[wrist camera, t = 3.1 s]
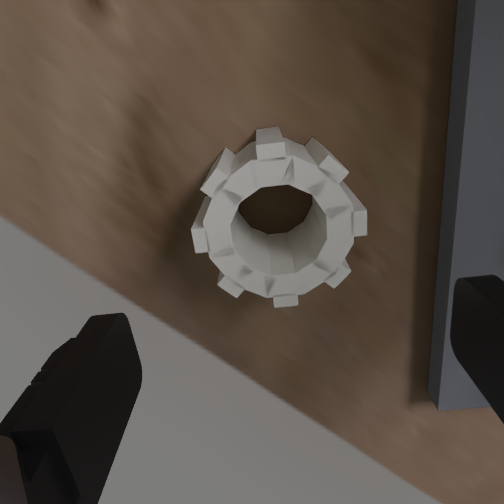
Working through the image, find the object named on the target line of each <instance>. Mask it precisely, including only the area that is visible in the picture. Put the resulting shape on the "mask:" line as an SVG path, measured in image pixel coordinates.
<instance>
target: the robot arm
mask: <svg viewBox="0 0 504 504" xmlns="http://www.w3.org/2000/svg"><path fill="white" fill-rule="evenodd" d="M450 341H451V346H452V349H453V352H454V355H455V357H456V359H457V360H458V362H459V363H460V364H461V366H462V367H463V368H464V370H465V371H466V373H467V374H468V375H469V377H470V378H471V379H472V381H473V382H474V384H475V385H476V386H477V388H478V389H479V390H480V392H481V393H482V395H483V396H484V397H485V399H486V400H487V401H488V403H489V404H490V406H491V407H492V408H493V410H494V411H495V412H496V414H497V415H498V417H499V418H500V419H501V421H502V422H503V423H504V281H503V280H501V279H500V278H499V277H498V276H496V275H492V274H491V275H482V276H472V277H463V278H458V279H457V281H456V282H455V285H454V293H453V305H452V316H451V327H450ZM141 382H142V367H141V362H140V359H139V355H138V351H137V348H136V345H135V341H134V338H133V334H132V331H131V327H130V324H129V321H128V318H127V317H126V315H125V314H124V313H114V314H105V315H95V316H91V317H90V318H89V319H88V321H87V322H86V324H85V325H84V327H83V328H82V330H81V331H80V332H79V334H78V335H77V337H76V338H71V339H69V340H68V341H67V342H66V343H64V344H63V345H62V346H60V347H59V348H58V349H57V350H55V351H54V352H53V353H52V354H51V356H50V357H49V358H48V360H47V361H46V362H45V364H44V365H43V366H42V368H41V371H40V372H38V373H37V374H36V376H35V377H34V379H33V380H32V381H31V385H29V386H28V387H27V388H26V389H25V391H24V392H23V393H22V395H21V396H20V397H19V399H18V400H17V402H16V403H15V404H14V406H13V407H12V408H11V410H10V411H9V412H8V414H7V415H6V416H5V418H4V419H3V421H2V422H1V423H0V504H98V501H99V499H100V496H101V493H102V490H103V487H104V485H105V482H106V480H107V477H108V474H109V472H110V468H111V466H112V464H113V461H114V458H115V455H116V452H117V450H118V447H119V445H120V442H121V439H122V437H123V434H124V431H125V428H126V426H127V423H128V420H129V418H130V415H131V412H132V409H133V407H134V404H135V402H136V399H137V396H138V393H139V391H140V388H141Z"/></svg>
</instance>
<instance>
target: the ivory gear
mask: <svg viewBox="0 0 504 504" xmlns="http://www.w3.org/2000/svg"><path fill="white" fill-rule="evenodd" d="M348 173H349V171H348V170H347V169H346V168H345V167H344V166H343V165H342V164H341V163H340V162H339V161H338V160H337V159H336V158H335V157H334V156H333V155H332V154H331V153H330V152H329V150H327V149H326V148H325V147H324V146H323V145H321V144H320V143H319V142H318V141H317V140H316V139H314V138H313V137H312V138H311V139H310V140H309V141H308V142H307V144H306V145H305V146H303V145H301V144H299V143H296V142H294V141H292V140H290V139H287V138H285V137H284V138H283V137H282V134H281V132H280V129H279V127H272V128H264V129H256V141H252V142H251V143H249V144H248V145H247V146H245V147H244V148H243V149H242V150H240V151H239V152H238V153H236V154H234V153H232V152H231V151H230V150H229V149H227V148H225V149H224V150H223V152H222V153H221V154H220V156H219V157H218V158H217V160H216V161H215V162H214V164H213V165H212V167H211V169H210V171H209V173H208V175H207V177H206V179H205V181H204V183H203V185H202V187H201V189H200V190H201V191H203V192H204V193H205V194H207V195H208V196H205V198H204V201H203V203H202V205H201V207H200V210H199V212H198V214H197V217H196V219H195V221H194V223H193V226H192V228H191V232H192V238H193V243H194V248H195V253H204V252H208V253H209V258H210V259H211V260H212V262H213V263H214V264H215V265H216V266H217V267H218V268H219V270H220V273H219V278H218V283H217V285H218V286H219V287H221V288H222V289H224V290H225V291H227V292H228V293H229V294H231V295H232V296H234V297H235V298H238V297H239V295H240V294H241V293H242V292H243V291H244V290H247V291H250V292H253V293H255V294H258V295H261V296H263V297H266V298H272V297H273V301H274V308H277V307H288V306H298V295H302V294H305V293H307V292H308V291H310V290H312V289H313V288H315V287H316V286H318V285H320V284H321V283H323V282H325V283H327V284H328V285H329V286H331V287H332V288H334V289H335V288H336V287H337V286H338V285H339V284H340V283H341V282H342V281H343V280H344V279H345V278H346V277H347V276H348V275H349V274H350V273H351V269H350V267H349V265H348V263H347V261H346V259H345V257H346V256H347V254H348V252H349V250H350V249H351V247H352V245H353V243H354V237H355V236H365V235H367V209H366V208H365V207H364V206H363V205H362V203H361V202H360V201H359V200H358V198H357V197H356V196H355V195H354V194H353V192H352V191H351V190H350V189H349V187H348V186H347V185H346V184H345V183H344V181H342V180H343V179H344V178H345V177H346V176H347V175H348ZM287 184H288V185H290V186H293V187H295V188H297V189H300V190H302V191H304V192H307V193H309V194H311V195H312V206H311V208H310V210H309V212H308V214H307V216H306V218H305V220H304V221H303V222H302V223H300V224H299V225H298V226H296V227H295V228H293V229H292V230H290V231H289V232H285V233H276V234H266V233H264V232H261V231H259V230H256V229H254V228H251V227H250V226H249V224H248V223H247V222H246V221H245V219H244V218H243V217H242V216H241V214H240V213H239V210H238V206H239V204H240V202H242V201H243V200H245V199H246V198H247V197H249V196H250V195H251V194H253V193H254V192H256V191H257V190H258V189H260V188H261V187H270V186H278V185H287Z"/></svg>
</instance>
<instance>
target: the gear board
mask: <svg viewBox="0 0 504 504" xmlns="http://www.w3.org/2000/svg"><path fill="white" fill-rule="evenodd" d="M491 274H492V275H496V276H498V277H499V278H500V279H501V280H503V281H504V0H458V2H457V15H456V28H455V41H454V54H453V67H452V80H451V93H450V106H449V119H448V132H447V145H446V158H445V171H444V184H443V197H442V210H441V223H440V236H439V249H438V263H437V276H436V289H435V302H434V315H433V328H432V341H431V354H430V367H429V380H428V393H429V395H430V397H431V399H432V401H433V402H434V404H435V406H436V408H437V410H438V411H441V410H453V409H466V408H479V407H491V406H490V404H489V403H488V401H487V400H486V399H485V397H484V396H483V395H482V393H481V392H480V390H479V389H478V388H477V386H476V385H475V384H474V382H473V381H472V379H471V378H470V377H469V375H468V374H467V373H466V371H465V370H464V368H463V367H462V366H461V364H460V363H459V362H458V360H457V359H456V357H455V355H454V352H453V349H452V346H451V341H450V327H451V316H452V305H453V293H454V285H455V282H456V281H457V279H458V278H463V277H472V276H482V275H491Z"/></svg>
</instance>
